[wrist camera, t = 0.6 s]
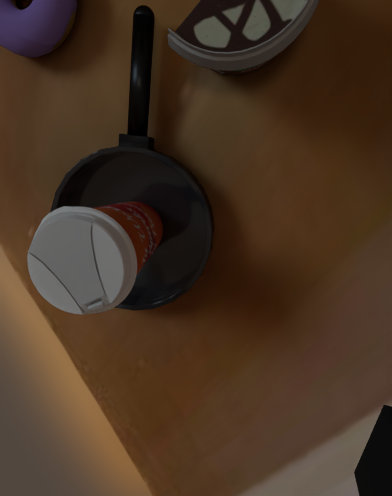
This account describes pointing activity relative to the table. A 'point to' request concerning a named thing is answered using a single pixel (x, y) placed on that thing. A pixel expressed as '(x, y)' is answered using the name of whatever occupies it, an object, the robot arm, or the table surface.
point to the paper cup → (92, 254)
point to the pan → (162, 201)
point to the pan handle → (140, 81)
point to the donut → (36, 26)
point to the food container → (240, 33)
